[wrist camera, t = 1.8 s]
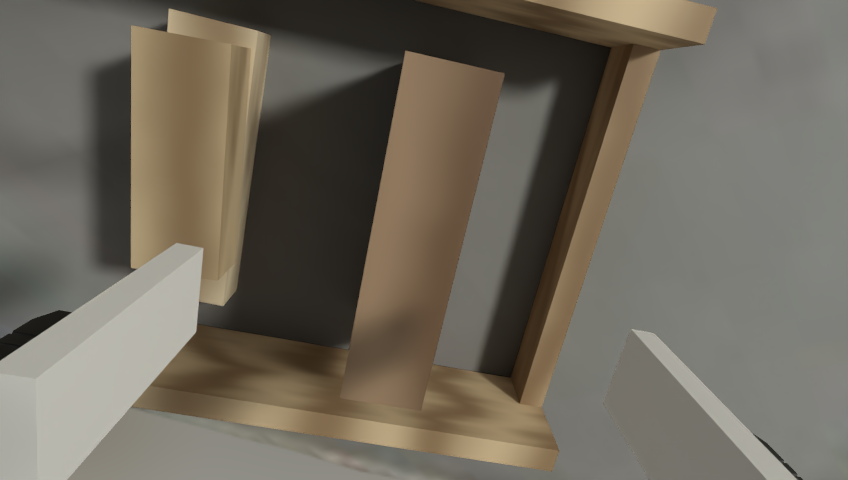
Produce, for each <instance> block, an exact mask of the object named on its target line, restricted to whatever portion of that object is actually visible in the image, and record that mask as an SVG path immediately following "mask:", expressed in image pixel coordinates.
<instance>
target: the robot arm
mask: <svg viewBox="0 0 848 480" xmlns="http://www.w3.org/2000/svg"><path fill="white" fill-rule="evenodd" d="M202 260H203V248H201V247H196V246H190V245H185V244H180V243H176V244H174V245H173V246H171V247H170V248H168V249H167V250H165V251H164V252H162V253H161V254H159V255H158V256H156V257H155V258H153V259H152V260H150V261H149V262H147V263H146V264H144V265H143V266H141V267H140V268H138V269H137V270H135V271H134V272H132V273H131V274H129V275H128V276H126V277H125V278H123V279H122V280H120V281H119V282H117V283H116V284H114V285H113V286H111V287H110V288H108V289H107V290H105V291H104V292H102V293H101V294H99V295H98V296H96V297H95V298H93V299H92V300H90V301H89V302H87V303H86V304H84V305H83V306H81V307H80V308H78V309H77V310H75V311H74V312H66V311H60V310H58V311H55V312H52V313H49V314H46V315H43V316H40V317H37V318H34V319H32V320H30V321H29V322H27V323H25V324H24V325H22V326H20V327H19V328H17V329H16V330H14V331H13V333H12V334H8V335H6V336H4V337H3V338H1V339H0V480H67V479H68V478H69V477H70V476H71V474H72V473H73V472H74V471H75V470H76V469H77V468H78V467H79V465H80V464H81V463H82V462H83V461H84V460H85V458H86V457H87V456H88V455H89V454H90V453H91V452H92V451H93V449H94V448H95V447H96V446H97V445H98V444H99V443H100V441H101V440H102V439H103V438H104V437H105V436H106V435H107V433H108V432H109V431H110V430H111V429H112V428H113V426H114V425H115V424H116V423H117V422H118V421H119V420H120V419H121V417H122V416H123V415H124V414H125V413H126V412H127V410H128V409H129V408H130V407H131V406H132V405H133V404H134V403H135V401H136V400H137V399H138V398H139V397H140V396H141V395H142V393H143V392H144V391H145V390H146V389H147V388H148V387H149V385H150V384H151V383H152V382H153V381H154V380H155V379H156V377H157V376H158V375H159V374H160V373H161V372H162V371H163V369H164V368H165V367H166V366H167V365H168V364H169V363H170V361H171V360H172V359H173V358H174V357H175V356H176V355H177V353H178V352H179V351H180V350H181V349H182V348H183V347H184V345H185V344H186V343H187V342H188V341H189V340H190V339H191V337H192V336H193V335H194V334H195V333H196V329H197V317H198V306H199V294H200V283H201V271H202ZM603 404H604V405H605V407H606V409H607V410H608V412H609V414H610V415H611V417H612V419H613V420H614V422H615V424H616V425H617V427H618V429H619V430H620V432H621V434H622V435H623V437H624V438H625V440H626V442H627V443H628V445H629V447H630V448H631V450H632V452H633V453H634V455H635V457H636V458H637V460H638V462H639V463H640V465H641V467H642V468H643V470H644V472H645V473H646V475H647V477H648V478H649V480H803V479H802V478H801V477H797V473H796V472H795V471H794V470H793V469H792V468H791V467H790V466H789V465H788V464H787V463H784V460H783V459H782V458H781V457H780V456H779V455H778V454H777V453H776V452H775V451H774V450H773V449H772V448H771V447H770V446H769V445H768V444H767V443H766V442H764V441H763V440H761V439H760V438H759V437H757V436H756V435H754V434H753V433H752V432H750V431H749V430H748V429H747V428H746V427H745V426H744V425H743V424H742V423H741V422H740V421H739V420H738V419H737V418H736V417H735V415H734V414H733V413H732V412H731V411H730V410H729V409H728V408H727V407H726V406H725V405H724V404H723V403H722V402H721V401H720V400H719V399H718V398H717V397H716V396H715V395H714V394H713V393H712V392H711V391H710V390H709V389H708V388H707V387H706V386H705V385H704V384H703V383H702V382H701V381H700V380H699V379H698V378H697V377H696V376H695V375H694V374H693V373H692V372H691V371H690V370H689V368H688V367H687V366H686V365H685V364H684V363H683V362H682V361H681V360H680V359H679V358H678V357H677V356H676V355H675V354H674V353H673V352H672V351H671V350H670V349H669V348H668V347H667V346H666V345H665V344H664V343H663V342H662V341H661V340H660V339H659V338H658V337H657V336H656V335H655V334H654V333H650V332H645V331H639V330H634V329H631V330H630V333H629V336H628V338H627V341H626V344H625V346H624V349H623V351H622V354H621V357H620V359H619V362H618V365H617V367H616V370H615V373H614V375H613V378H612V381H611V383H610V386H609V389H608V391H607V394H606V397H605V399H604V402H603Z"/></svg>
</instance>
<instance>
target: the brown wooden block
mask: <svg viewBox="0 0 848 480" xmlns="http://www.w3.org/2000/svg"><path fill="white" fill-rule="evenodd" d="M504 75H505V73H501V72H496V71H492V70H488V69H483V68H479V67H475V66H470V65H466V64H462V63H457V62H453V61H449V60H444V59H440V58H436V57H431V56H427V55H423V54H418V53H414V52H409V51H405V56H404V61H403V66H402V72H401V77H400V82H399V87H398V93H397V98H396V103H395V109H394V114H393V119H392V124H391V130H390V135H389V140H388V146H387V151H386V156H385V161H384V167H383V172H382V177H381V183H380V188H379V193H378V199H377V204H376V209H375V214H374V220H373V225H372V230H371V236H370V241H369V246H368V251H367V257H366V262H365V267H364V273H363V278H362V283H361V288H360V294H359V299H358V304H357V310H356V315H355V320H354V325H353V331H352V336H351V341H350V347H349V352H348V357H347V362H346V368H345V373H344V378H343V384H342V389H341V394H340V398H342V399H349V400H355V401H361V402H367V403H374V404H380V405H386V406H392V407H399V408H405V409H411V410H417V411H421V409H422V405H423V401H424V397H425V393H426V389H427V385H428V381H429V377H430V373H431V369H432V365H433V361H434V357H435V353H436V349H437V345H438V341H439V337H440V333H441V329H442V325H443V321H444V316H445V312H446V308H447V304H448V300H449V296H450V292H451V288H452V284H453V280H454V276H455V272H456V268H457V264H458V260H459V256H460V252H461V248H462V244H463V240H464V236H465V232H466V228H467V224H468V220H469V216H470V212H471V208H472V204H473V200H474V196H475V192H476V188H477V184H478V180H479V176H480V172H481V168H482V164H483V160H484V156H485V152H486V148H487V144H488V140H489V136H490V131H491V127H492V123H493V119H494V115H495V111H496V107H497V103H498V99H499V95H500V91H501V87H502V83H503V79H504Z"/></svg>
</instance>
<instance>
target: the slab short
mask: <svg viewBox="0 0 848 480" xmlns="http://www.w3.org/2000/svg"><path fill="white" fill-rule="evenodd" d="M250 59H251V49H250V48H246V47H241V46H237V45H233V44H228V43H222V42H217V41H212V40H206V39H201V38H196V37H191V36H185V35H180V34H175V33H169V32H164V31H159V30H153V29H148V28H143V27H138V26H132V25H131V268H135V269H138V268H140V267H141V266H143V265H144V264H146V263H147V262H149V261H150V260H152V259H153V258H155V257H156V256H158V255H159V254H161V253H162V252H164V251H165V250H167V249H168V248H170V247H171V246H173V245H174V244H176V243H180V244H185V245H190V246H196V247H201V248H203V260H202V271H201V279H208V280H215V281H218V280H219V279H220V278H221V277H222V276H223V275H224V274H225V273H226V272H227V271H228V270H229V269H230V268H231V267H232V266H233V265H234V264H235V263H236V260H237V246H238V231H239V217H240V203H241V188H242V174H243V160H244V145H245V131H246V116H247V102H248V88H249V73H250Z"/></svg>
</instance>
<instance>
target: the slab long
mask: <svg viewBox="0 0 848 480" xmlns="http://www.w3.org/2000/svg"><path fill="white" fill-rule="evenodd" d="M167 32H169V33H175V34H180V35H185V36H191V37H196V38H201V39H206V40H212V41H217V42H222V43H228V44H233V45H237V46H241V47H246V48H250V49H251V59H250V73H249V88H248V102H247V116H246V131H245V145H244V160H243V174H242V188H241V203H240V217H239V231H238V246H237V260H236V263H235V264H234V265H233V266H232V267H231V268H230V269H229V270H228V271H227V272H226V273H225V274H224V275H223V276H222V277H221V278H220V279H219V280H218V281H215V280H208V279H201V283H200V294H199V302H204V303H210V304H215V305H220V306H224V305H225V303H226V302H227V301H228V300H229V299H230V297H231V296H232V295H233V294H234V293H235V291H236V290H237V285H238V278H239V270H240V263H241V255H242V248H243V240H244V233H245V225H246V218H247V211H248V203H249V196H250V188H251V181H252V173H253V166H254V158H255V151H256V143H257V136H258V128H259V121H260V113H261V106H262V98H263V91H264V84H265V76H266V69H267V61H268V54H269V46H270V39H271V35H268V34H266V33H263V32H260V31H257V30H253V29H249V28H245V27H241V26H237V25H233V24H229V23H225V22H221V21H217V20H213V19H209V18H205V17H201V16H197V15H193V14H189V13H185V12H181V11H177V10H173V9H169V15H168V28H167Z"/></svg>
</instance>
